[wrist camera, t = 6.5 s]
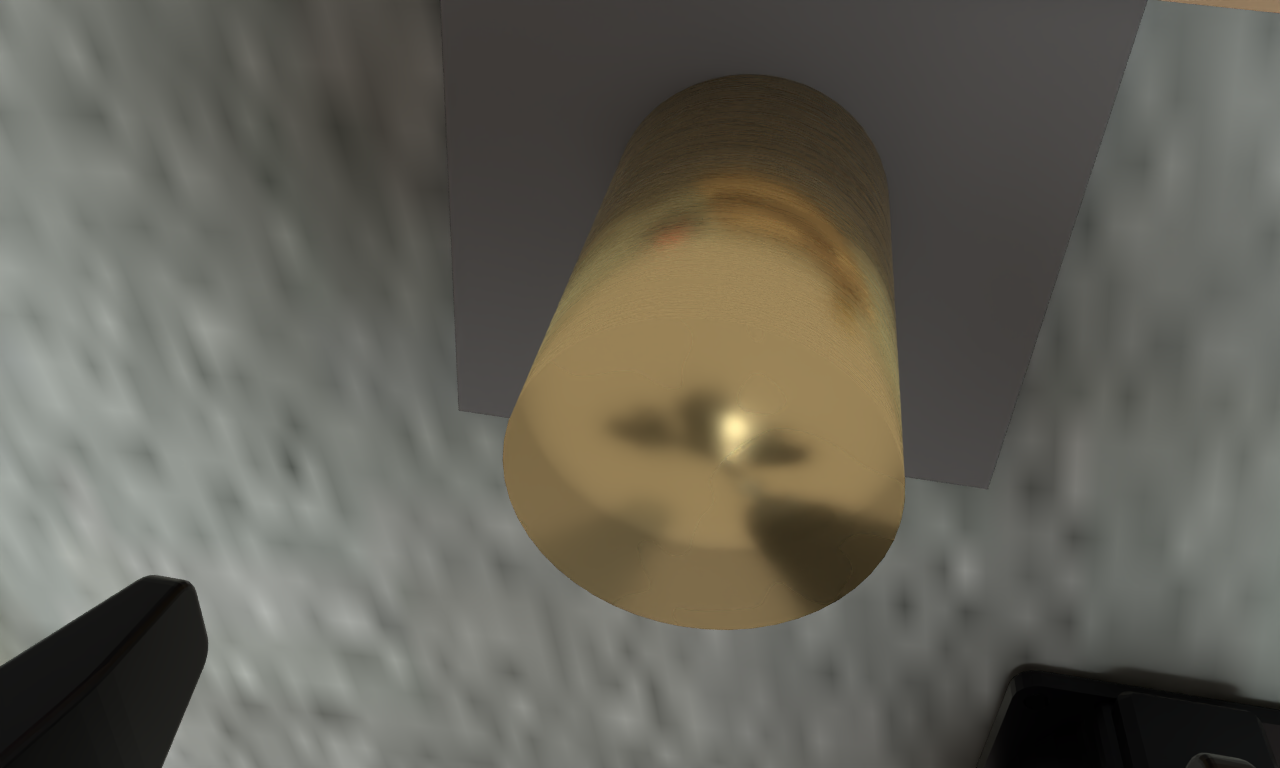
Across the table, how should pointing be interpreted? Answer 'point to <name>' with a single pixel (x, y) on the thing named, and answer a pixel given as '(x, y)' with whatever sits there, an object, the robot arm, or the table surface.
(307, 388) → the table surface
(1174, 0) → the tray
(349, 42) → the table surface
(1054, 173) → the mat
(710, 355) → the cylinder
